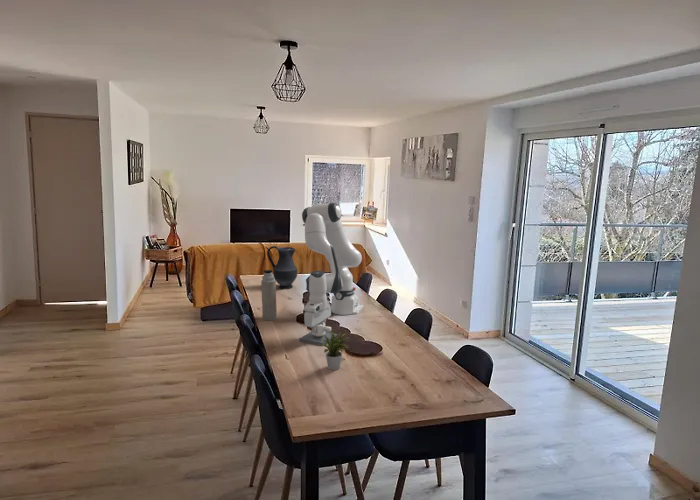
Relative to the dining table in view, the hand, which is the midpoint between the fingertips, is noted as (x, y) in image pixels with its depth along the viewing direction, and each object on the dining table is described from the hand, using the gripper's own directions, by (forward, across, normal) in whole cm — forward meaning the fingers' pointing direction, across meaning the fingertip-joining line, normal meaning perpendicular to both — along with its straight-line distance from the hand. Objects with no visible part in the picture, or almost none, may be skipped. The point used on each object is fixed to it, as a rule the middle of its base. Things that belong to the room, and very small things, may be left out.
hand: (318, 330), depth 244 cm
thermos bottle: (+5, -16, -42) cm, 45 cm away
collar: (+2, 0, +2) cm, 2 cm away
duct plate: (+5, 0, 0) cm, 5 cm away
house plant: (+5, +28, +24) cm, 37 cm away
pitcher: (+5, -77, -75) cm, 108 cm away
